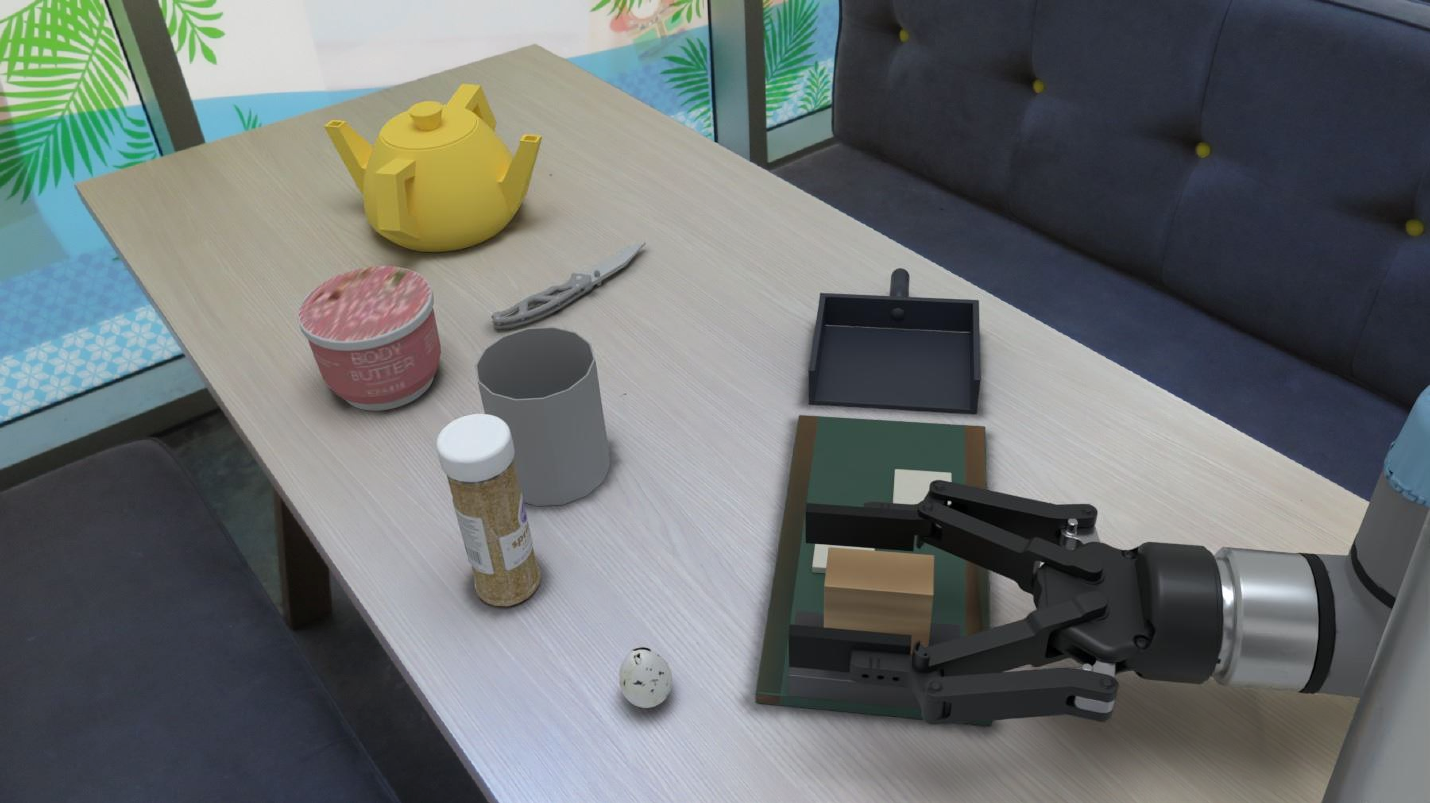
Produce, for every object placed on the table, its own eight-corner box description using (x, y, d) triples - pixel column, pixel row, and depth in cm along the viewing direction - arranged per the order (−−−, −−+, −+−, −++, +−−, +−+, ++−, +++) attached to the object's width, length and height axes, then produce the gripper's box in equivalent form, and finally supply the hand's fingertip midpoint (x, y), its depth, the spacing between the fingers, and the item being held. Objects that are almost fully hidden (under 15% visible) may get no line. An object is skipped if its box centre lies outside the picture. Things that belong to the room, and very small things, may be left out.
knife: (635, 244, 113) (657, 255, 112) (489, 328, 104) (510, 341, 102) (634, 230, 112) (656, 241, 111) (485, 313, 103) (507, 326, 101)
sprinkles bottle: (548, 597, 80) (517, 447, 71) (481, 617, 79) (441, 468, 70) (533, 550, 83) (501, 402, 75) (468, 569, 82) (429, 421, 74)
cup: (521, 425, 94) (499, 322, 87) (622, 435, 92) (607, 331, 86) (483, 500, 88) (458, 394, 81) (591, 512, 86) (573, 406, 80)
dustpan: (976, 414, 92) (980, 379, 90) (808, 404, 94) (808, 370, 92) (974, 293, 104) (978, 260, 102) (825, 287, 106) (826, 254, 104)
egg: (684, 689, 74) (678, 637, 70) (657, 728, 72) (649, 676, 68) (640, 670, 75) (632, 618, 72) (612, 708, 73) (603, 656, 70)
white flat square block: (872, 577, 78) (873, 571, 78) (812, 572, 79) (812, 566, 79) (875, 533, 82) (876, 527, 81) (817, 529, 82) (817, 523, 82)
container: (471, 350, 102) (453, 272, 97) (417, 430, 94) (394, 349, 89) (361, 336, 104) (338, 259, 99) (299, 413, 96) (270, 333, 91)
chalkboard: (991, 726, 70) (992, 716, 70) (755, 703, 73) (755, 693, 72) (984, 435, 90) (985, 425, 89) (798, 424, 92) (798, 414, 92)
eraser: (958, 712, 70) (970, 612, 64) (788, 696, 72) (786, 596, 66) (958, 645, 74) (970, 544, 68) (796, 631, 75) (795, 531, 70)
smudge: (950, 518, 82) (951, 512, 82) (892, 513, 83) (892, 507, 82) (951, 478, 85) (951, 472, 85) (894, 474, 86) (894, 468, 86)
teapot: (498, 160, 128) (478, 54, 120) (562, 228, 116) (544, 115, 109) (345, 207, 122) (313, 98, 114) (396, 283, 110) (365, 168, 103)
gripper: (1228, 830, 60) (778, 781, 63) (1171, 523, 76) (815, 498, 79) (1265, 742, 55) (775, 694, 58) (1195, 434, 71) (815, 411, 74)
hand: (798, 581), depth 69 cm, fingers open, 9 cm apart
